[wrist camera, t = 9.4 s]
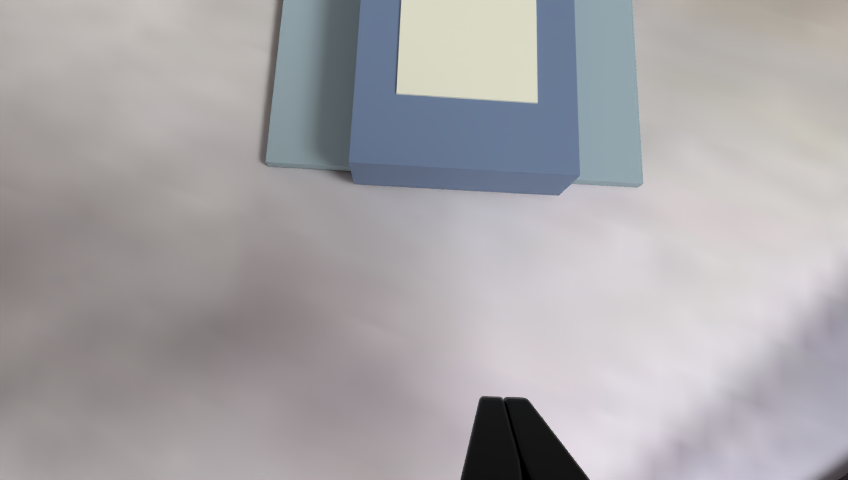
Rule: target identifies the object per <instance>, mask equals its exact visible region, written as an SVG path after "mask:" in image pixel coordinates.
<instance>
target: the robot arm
mask: <svg viewBox="0 0 848 480" xmlns="http://www.w3.org/2000/svg"><path fill="white" fill-rule="evenodd" d="M461 480H590V479H589V478H588V477H587V475H586V474H585V473H584V472H583V470H582V469H581V468H580V466H579V465H578V464H577V462H576V461H575V460H574V459H573V457H572V456H571V455H570V453H569V452H568V451H567V449H566V448H565V447H564V446H563V444H562V443H561V442H560V440H559V439H558V438H557V436H556V435H555V434H554V433H553V431H552V430H551V429H550V427H549V426H548V425H547V423H546V422H545V421H544V420H543V418H542V417H541V416H540V414H539V413H538V412H537V410H536V409H535V408H534V406H533V405H532V404H531V403H530V401H529V400H528V399H526V398H522V397H505V398H504V399H502V398H501V397H493V396H482V397H481V398H480V399H479V403H478V407H477V412H476V416H475V420H474V424H473V429H472V433H471V437H470V441H469V446H468V450H467V454H466V458H465V463H464V467H463V471H462V476H461Z"/></svg>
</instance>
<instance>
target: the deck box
mask: <svg viewBox="0 0 848 480" xmlns="http://www.w3.org/2000/svg"><path fill="white" fill-rule="evenodd" d="M349 165H350V170H351V174H352V179H353V183H354V184H362V185H380V186H398V187H416V188H435V189H453V190H471V191H489V192H507V193H525V194H543V195H560V194H561V193H562V192H563V191H564V190H565V189H566V188H567V187H568V186H569V185H570V184H572V183H573V182H574V181H575V180H576V179H577V178H578V177H579V176H580V157H579V127H578V96H577V66H576V35H575V5H574V0H361V3H360V17H359V30H358V44H357V58H356V71H355V85H354V98H353V112H352V126H351V139H350V153H349Z"/></svg>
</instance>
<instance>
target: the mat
mask: <svg viewBox="0 0 848 480" xmlns="http://www.w3.org/2000/svg"><path fill="white" fill-rule="evenodd" d="M360 3H361V0H283V9H282V17H281V26H280V35H279V44H278V53H277V62H276V71H275V80H274V89H273V98H272V107H271V116H270V125H269V134H268V143H267V152H266V161H265V162H266V164H267V165H268V166H272V167H290V168H307V169H325V170H342V171H351V170H350V165H349V153H350V139H351V126H352V112H353V98H354V85H355V71H356V58H357V44H358V30H359V17H360ZM574 5H575V35H576V66H577V96H578V127H579V157H580V176H579V177H578V178H577V179H576V180H575V181H574V182H573V183H572V184H589V185H607V186H624V187H639V186H640V185H642V184H643V173H642V157H641V140H640V124H639V108H638V91H637V75H636V59H635V43H634V26H633V10H632V0H574Z"/></svg>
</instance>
